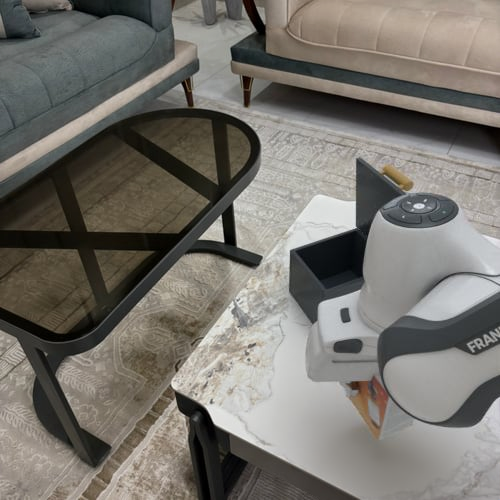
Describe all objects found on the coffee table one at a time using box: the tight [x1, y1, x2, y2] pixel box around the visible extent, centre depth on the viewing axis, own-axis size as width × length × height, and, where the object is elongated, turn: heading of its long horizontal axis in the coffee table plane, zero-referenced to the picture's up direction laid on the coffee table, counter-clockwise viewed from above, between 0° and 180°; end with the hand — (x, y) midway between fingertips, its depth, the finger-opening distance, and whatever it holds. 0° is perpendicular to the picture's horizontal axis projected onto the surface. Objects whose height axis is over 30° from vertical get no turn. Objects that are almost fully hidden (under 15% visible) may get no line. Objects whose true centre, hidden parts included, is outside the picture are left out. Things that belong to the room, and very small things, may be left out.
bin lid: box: [355, 156, 414, 238], centre depth 85 cm, size 15×12×5 cm
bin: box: [288, 227, 368, 325], centre depth 92 cm, size 14×12×11 cm
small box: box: [347, 374, 415, 441], centre depth 65 cm, size 8×6×10 cm
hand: (381, 391), depth 66 cm, fingers closed on small box, 7 cm apart
